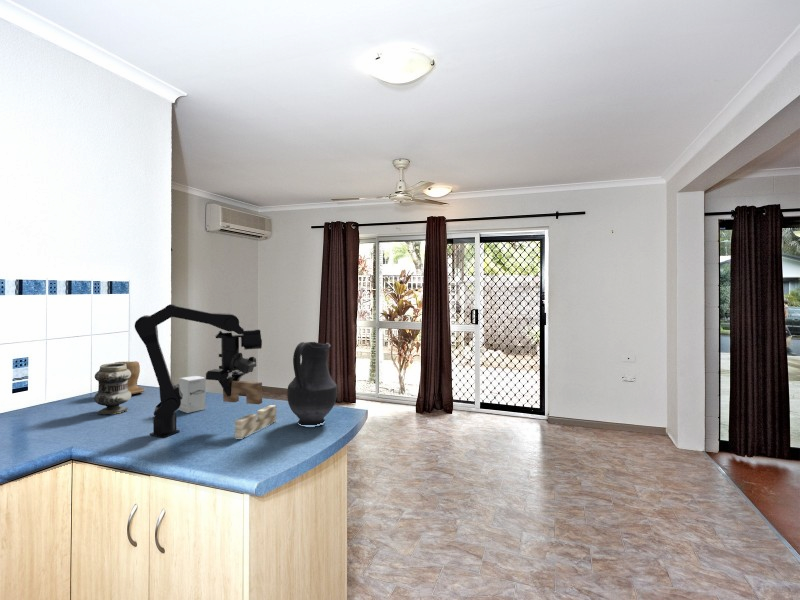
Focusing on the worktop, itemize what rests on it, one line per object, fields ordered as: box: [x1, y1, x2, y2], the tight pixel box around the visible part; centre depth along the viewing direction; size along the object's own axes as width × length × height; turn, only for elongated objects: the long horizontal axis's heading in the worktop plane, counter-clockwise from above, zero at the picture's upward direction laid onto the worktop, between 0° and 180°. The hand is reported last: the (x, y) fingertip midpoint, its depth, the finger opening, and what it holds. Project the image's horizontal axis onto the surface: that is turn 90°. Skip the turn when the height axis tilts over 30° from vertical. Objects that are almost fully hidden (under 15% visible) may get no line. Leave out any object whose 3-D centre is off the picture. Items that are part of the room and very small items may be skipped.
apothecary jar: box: [93, 362, 132, 415], centre depth 173 cm, size 12×12×18 cm
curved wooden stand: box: [114, 360, 146, 396], centre depth 199 cm, size 15×12×15 cm
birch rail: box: [234, 404, 277, 439], centre depth 154 cm, size 20×2×6 cm, turn 163°
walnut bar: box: [222, 380, 263, 405], centre depth 156 cm, size 14×2×7 cm, turn 75°
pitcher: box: [286, 341, 338, 425], centre depth 160 cm, size 17×21×30 cm
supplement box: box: [178, 375, 207, 414], centre depth 177 cm, size 7×7×13 cm
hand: (230, 395), depth 157 cm, fingers closed on walnut bar, 2 cm apart
